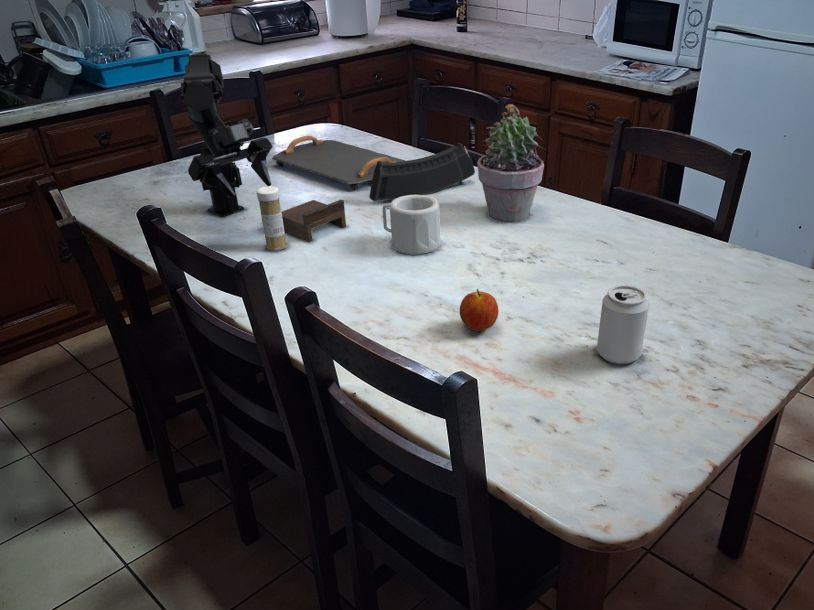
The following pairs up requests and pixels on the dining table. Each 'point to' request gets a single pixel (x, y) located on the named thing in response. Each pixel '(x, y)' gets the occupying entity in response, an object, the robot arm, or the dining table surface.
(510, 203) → the potted plant
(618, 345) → the can
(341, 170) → the serving tray
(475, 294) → the fruit
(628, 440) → the dining table surface
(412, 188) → the magazine
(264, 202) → the sprinkles bottle
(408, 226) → the mug
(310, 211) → the shelf
